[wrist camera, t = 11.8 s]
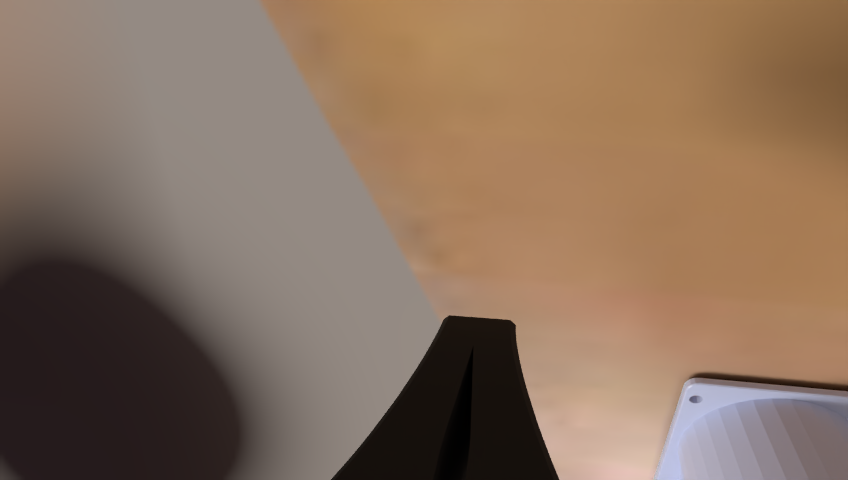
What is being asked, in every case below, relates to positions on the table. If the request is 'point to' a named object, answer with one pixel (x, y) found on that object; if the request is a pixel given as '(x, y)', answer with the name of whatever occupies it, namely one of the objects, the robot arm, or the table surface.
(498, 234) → the table surface
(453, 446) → the robot arm
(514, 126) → the table surface
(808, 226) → the table surface
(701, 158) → the table surface
